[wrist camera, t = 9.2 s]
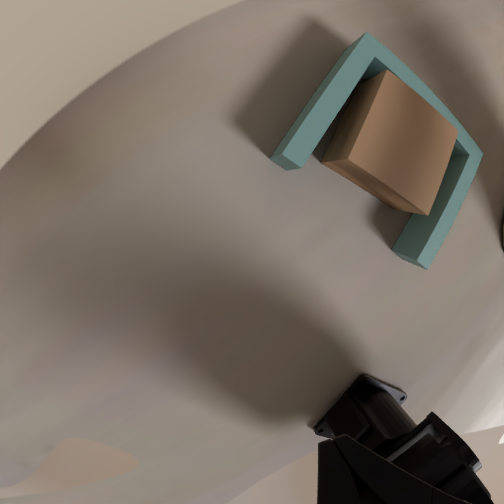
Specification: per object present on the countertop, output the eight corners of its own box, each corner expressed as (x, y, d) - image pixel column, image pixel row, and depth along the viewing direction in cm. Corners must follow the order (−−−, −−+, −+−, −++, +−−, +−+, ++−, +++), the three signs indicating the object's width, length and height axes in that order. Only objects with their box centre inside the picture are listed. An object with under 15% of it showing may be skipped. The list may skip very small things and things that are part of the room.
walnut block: (421, 136, 18) (458, 131, 15) (391, 208, 19) (428, 215, 15) (355, 86, 17) (387, 69, 13) (319, 163, 18) (347, 158, 14)
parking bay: (456, 154, 19) (483, 153, 16) (401, 258, 20) (427, 270, 17) (346, 48, 16) (366, 31, 13) (269, 158, 17) (281, 153, 14)
